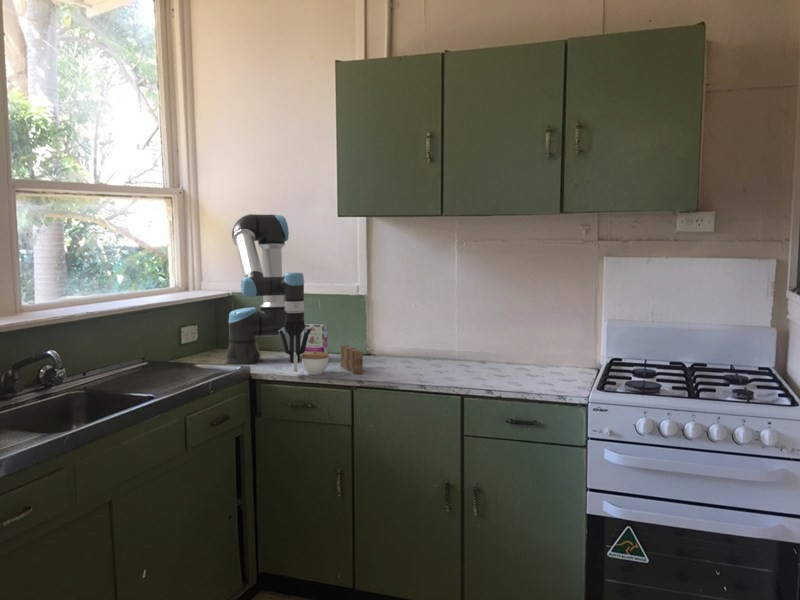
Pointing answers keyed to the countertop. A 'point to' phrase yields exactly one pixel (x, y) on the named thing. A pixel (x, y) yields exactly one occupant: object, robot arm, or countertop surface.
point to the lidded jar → (315, 362)
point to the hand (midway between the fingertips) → (294, 371)
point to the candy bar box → (316, 338)
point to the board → (352, 359)
